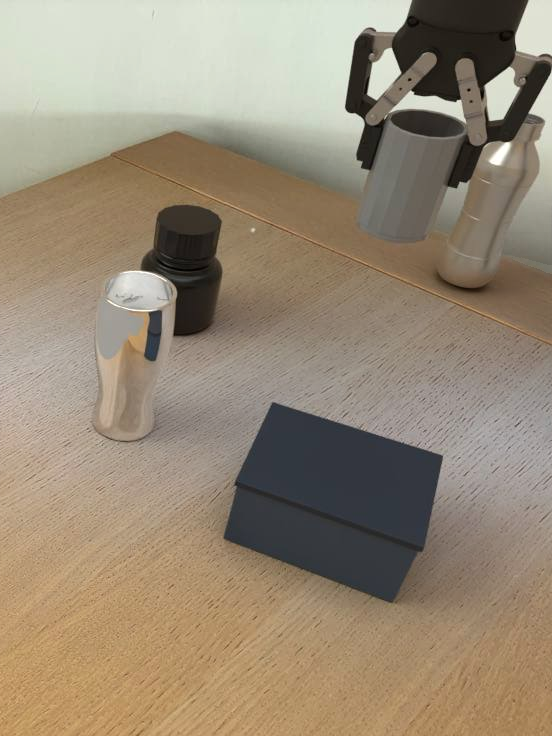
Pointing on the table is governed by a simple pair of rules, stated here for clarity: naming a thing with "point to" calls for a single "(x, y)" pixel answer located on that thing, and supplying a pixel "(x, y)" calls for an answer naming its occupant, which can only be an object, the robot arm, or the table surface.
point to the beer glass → (131, 350)
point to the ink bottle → (188, 262)
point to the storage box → (334, 500)
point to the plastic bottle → (491, 207)
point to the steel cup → (410, 174)
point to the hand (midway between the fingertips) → (409, 174)
